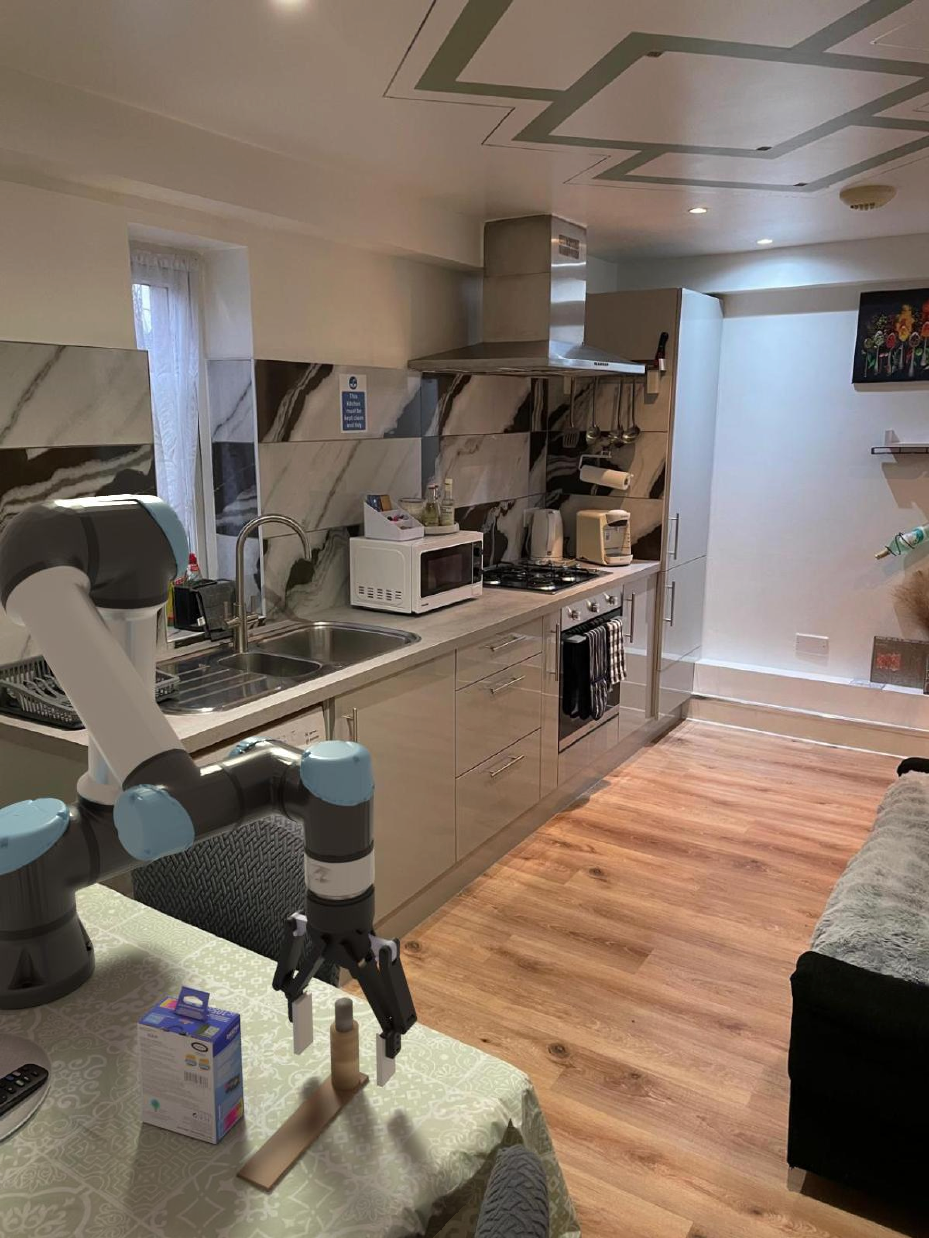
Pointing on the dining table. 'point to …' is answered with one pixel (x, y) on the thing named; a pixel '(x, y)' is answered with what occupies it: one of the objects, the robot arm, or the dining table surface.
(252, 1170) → the strip
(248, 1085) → the dining table surface
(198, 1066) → the ink cartridge box
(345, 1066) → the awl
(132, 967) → the dining table surface
